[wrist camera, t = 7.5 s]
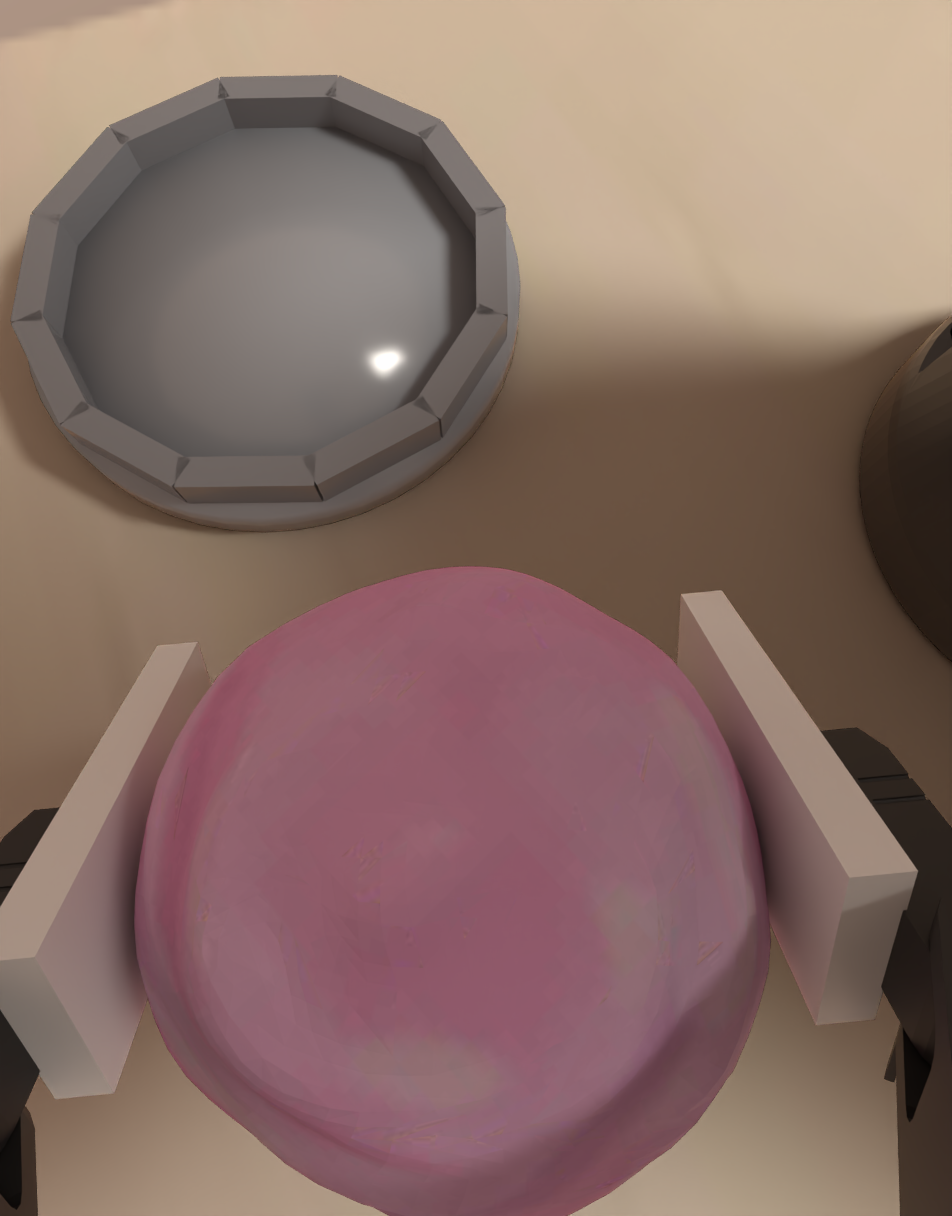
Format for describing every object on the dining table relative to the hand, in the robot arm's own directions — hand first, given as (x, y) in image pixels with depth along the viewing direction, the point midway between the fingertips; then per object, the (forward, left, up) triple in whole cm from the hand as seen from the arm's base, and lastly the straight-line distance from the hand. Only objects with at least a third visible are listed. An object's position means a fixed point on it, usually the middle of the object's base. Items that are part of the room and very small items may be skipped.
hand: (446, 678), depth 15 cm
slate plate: (+6, -15, -9) cm, 19 cm away
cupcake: (0, +3, -4) cm, 5 cm away
